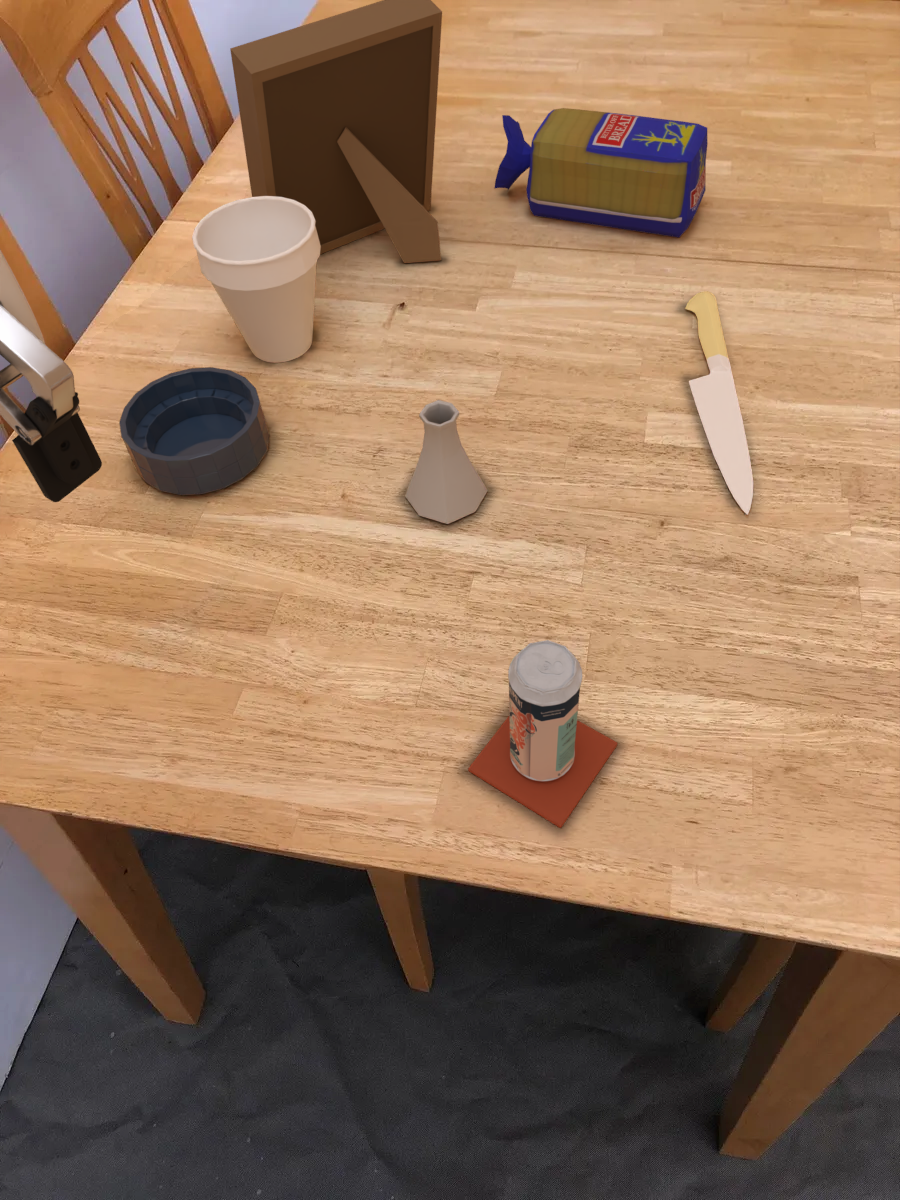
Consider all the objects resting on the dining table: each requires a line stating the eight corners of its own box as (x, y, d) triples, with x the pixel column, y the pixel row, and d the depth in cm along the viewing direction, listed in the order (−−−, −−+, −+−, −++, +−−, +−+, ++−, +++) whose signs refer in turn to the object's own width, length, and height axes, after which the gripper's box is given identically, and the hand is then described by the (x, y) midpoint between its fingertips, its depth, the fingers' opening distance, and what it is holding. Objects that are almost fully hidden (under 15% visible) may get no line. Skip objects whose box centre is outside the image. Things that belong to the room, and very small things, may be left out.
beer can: (513, 724, 70) (511, 631, 61) (576, 729, 69) (585, 637, 60) (506, 781, 67) (504, 694, 58) (572, 787, 67) (581, 700, 57)
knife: (715, 514, 82) (768, 507, 81) (671, 293, 102) (713, 285, 101) (716, 524, 83) (768, 517, 82) (672, 303, 103) (714, 295, 102)
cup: (277, 297, 107) (250, 183, 96) (359, 331, 102) (341, 214, 91) (202, 355, 101) (164, 240, 90) (286, 393, 96) (256, 276, 85)
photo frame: (261, 256, 112) (206, 30, 93) (412, 196, 119) (391, -27, 99) (318, 313, 104) (272, 80, 85) (477, 246, 111) (468, 15, 91)
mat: (560, 828, 65) (560, 826, 65) (468, 771, 68) (467, 768, 68) (617, 745, 69) (617, 742, 69) (527, 694, 72) (527, 691, 72)
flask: (391, 499, 86) (378, 416, 78) (444, 457, 89) (437, 373, 81) (448, 536, 83) (440, 454, 75) (501, 491, 86) (499, 408, 78)
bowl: (203, 518, 86) (188, 480, 82) (109, 464, 91) (90, 426, 87) (297, 436, 92) (287, 396, 88) (204, 390, 97) (191, 351, 93)
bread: (687, 246, 108) (700, 159, 100) (489, 215, 115) (486, 131, 107) (706, 202, 114) (720, 116, 106) (516, 175, 121) (516, 92, 112)
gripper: (-392, 94, 36) (-143, 428, 49) (-146, 214, 29) (65, 564, 42) (-214, 23, 39) (-27, 353, 53) (43, 114, 32) (183, 467, 46)
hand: (14, 447), depth 48 cm, fingers open, 9 cm apart
